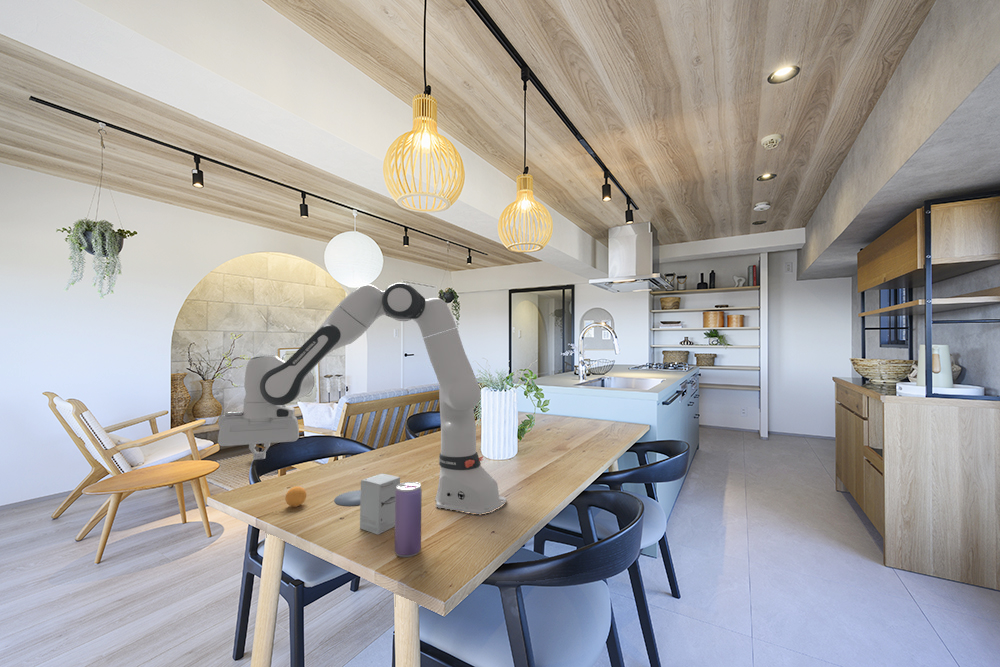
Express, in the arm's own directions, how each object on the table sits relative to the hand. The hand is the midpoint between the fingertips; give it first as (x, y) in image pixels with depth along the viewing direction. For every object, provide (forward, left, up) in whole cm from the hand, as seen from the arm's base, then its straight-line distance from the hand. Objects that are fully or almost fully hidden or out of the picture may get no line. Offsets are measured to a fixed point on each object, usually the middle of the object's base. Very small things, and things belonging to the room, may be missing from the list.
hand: (259, 458), depth 116 cm
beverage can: (-53, -8, -15) cm, 56 cm away
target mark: (-15, -23, -15) cm, 31 cm away
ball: (-5, -8, -12) cm, 16 cm away
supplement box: (-37, -13, -15) cm, 42 cm away
